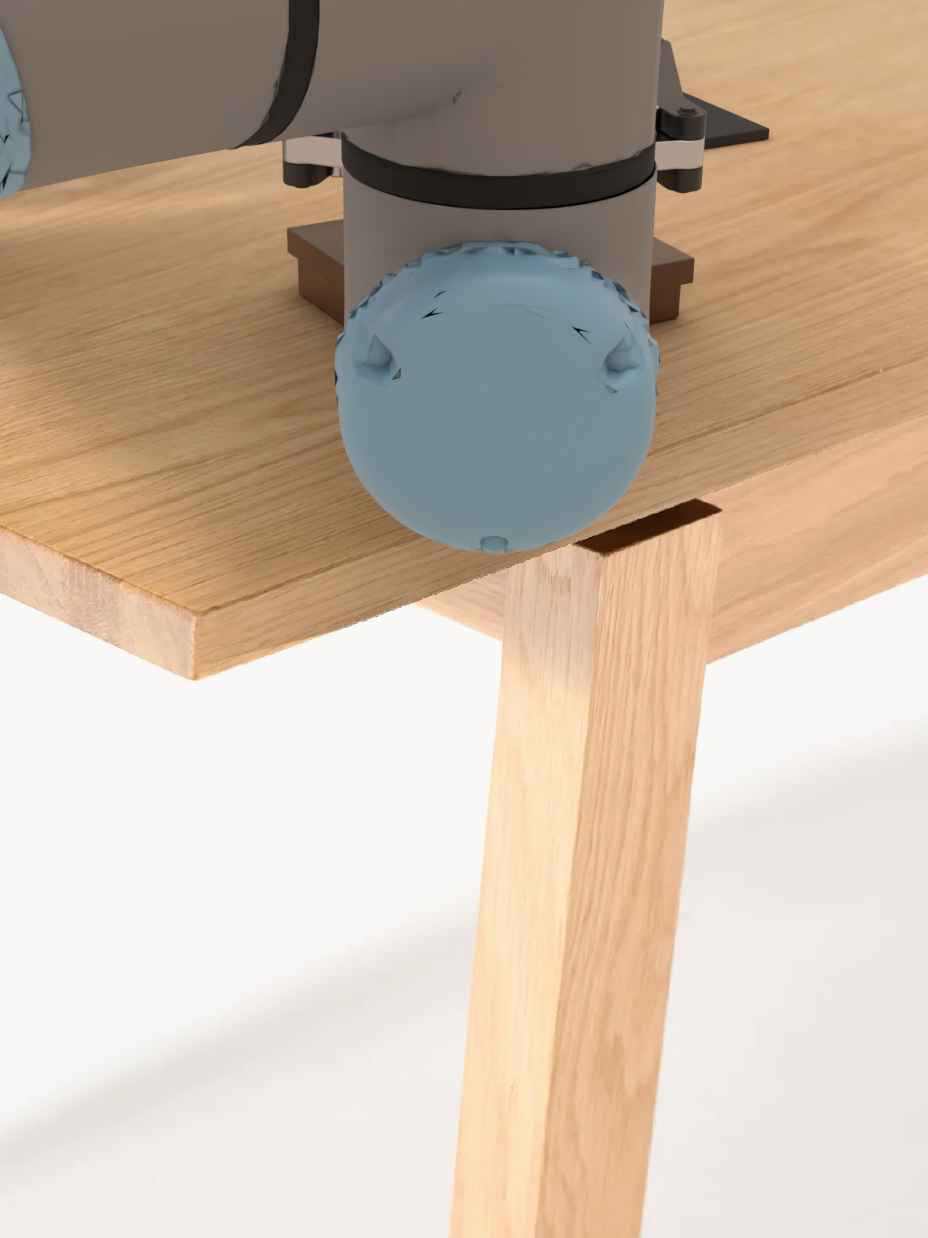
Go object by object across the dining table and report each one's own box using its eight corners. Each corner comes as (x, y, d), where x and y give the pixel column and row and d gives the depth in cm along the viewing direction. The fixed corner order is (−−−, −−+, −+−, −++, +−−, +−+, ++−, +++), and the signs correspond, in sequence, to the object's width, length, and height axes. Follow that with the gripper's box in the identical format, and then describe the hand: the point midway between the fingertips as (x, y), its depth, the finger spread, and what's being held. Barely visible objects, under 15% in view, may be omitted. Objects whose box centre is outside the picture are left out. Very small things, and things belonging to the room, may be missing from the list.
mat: (480, 112, 106) (481, 102, 106) (651, 87, 111) (651, 77, 110) (590, 167, 99) (591, 156, 98) (769, 138, 103) (770, 128, 103)
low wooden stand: (287, 289, 84) (286, 227, 83) (551, 242, 89) (553, 183, 88) (410, 378, 77) (410, 311, 75) (691, 321, 82) (695, 257, 81)
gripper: (187, 333, 64) (258, 113, 85) (795, 343, 64) (720, 121, 85) (174, 81, 61) (251, -85, 81) (819, 91, 61) (735, -77, 81)
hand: (491, 20), depth 83 cm, fingers closed on spice bottle, 5 cm apart
